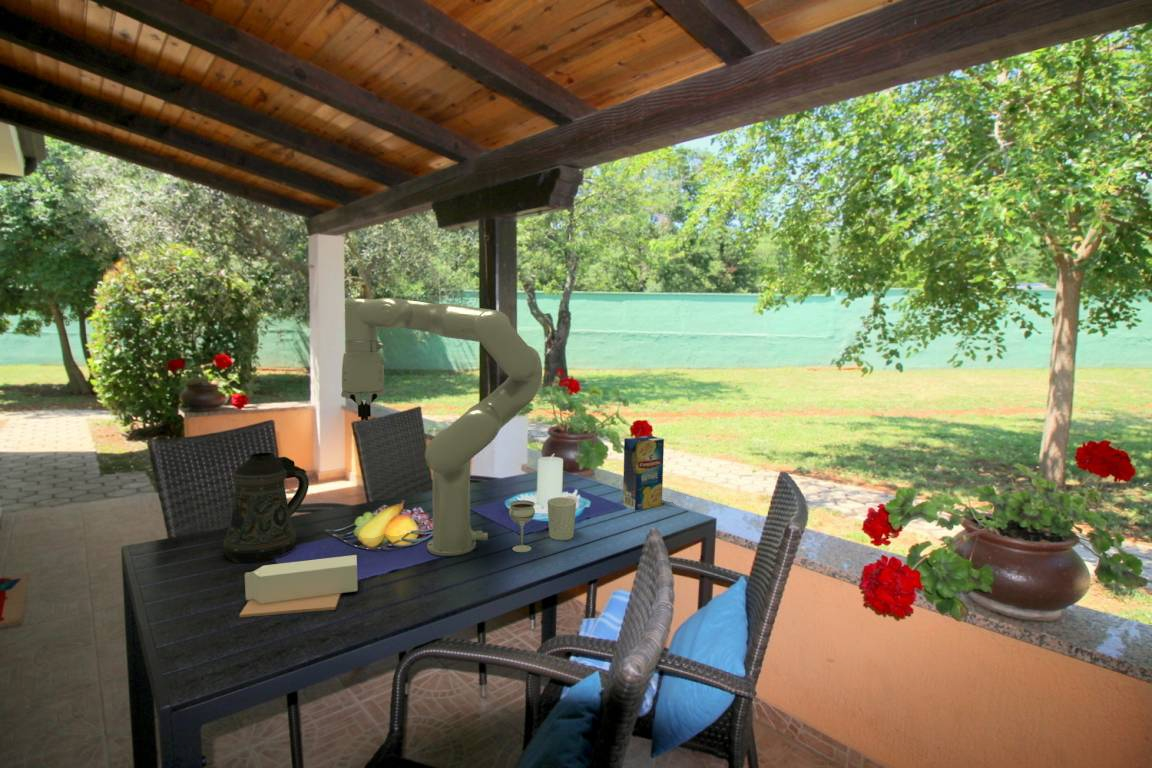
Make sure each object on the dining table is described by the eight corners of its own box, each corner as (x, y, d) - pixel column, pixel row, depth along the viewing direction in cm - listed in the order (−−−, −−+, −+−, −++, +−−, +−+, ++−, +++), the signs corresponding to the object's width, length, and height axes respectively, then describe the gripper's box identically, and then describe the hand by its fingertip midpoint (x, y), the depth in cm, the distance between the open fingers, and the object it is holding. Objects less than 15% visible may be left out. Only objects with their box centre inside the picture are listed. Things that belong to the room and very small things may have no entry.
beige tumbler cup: (579, 539, 166) (580, 504, 165) (552, 542, 163) (553, 506, 162) (569, 530, 173) (570, 496, 172) (543, 533, 170) (543, 498, 169)
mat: (349, 569, 144) (349, 567, 144) (335, 609, 124) (335, 606, 124) (267, 575, 140) (267, 573, 140) (239, 617, 120) (239, 614, 120)
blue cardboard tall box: (662, 505, 197) (664, 439, 195) (635, 510, 192) (637, 442, 189) (648, 499, 203) (650, 435, 201) (622, 504, 197) (624, 438, 195)
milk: (357, 579, 137) (248, 594, 129) (356, 554, 136) (246, 566, 129) (357, 591, 131) (243, 606, 124) (356, 564, 131) (241, 578, 123)
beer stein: (208, 558, 149) (203, 459, 147) (269, 532, 168) (265, 444, 165) (261, 567, 144) (257, 465, 142) (318, 539, 163) (315, 448, 160)
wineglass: (506, 545, 161) (506, 501, 159) (530, 542, 163) (530, 499, 162) (512, 554, 154) (512, 509, 153) (538, 551, 157) (538, 506, 155)
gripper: (393, 347, 158) (395, 416, 160) (332, 347, 154) (334, 418, 156) (393, 348, 151) (395, 420, 153) (328, 348, 147) (331, 423, 149)
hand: (364, 419), depth 154 cm, fingers closed
